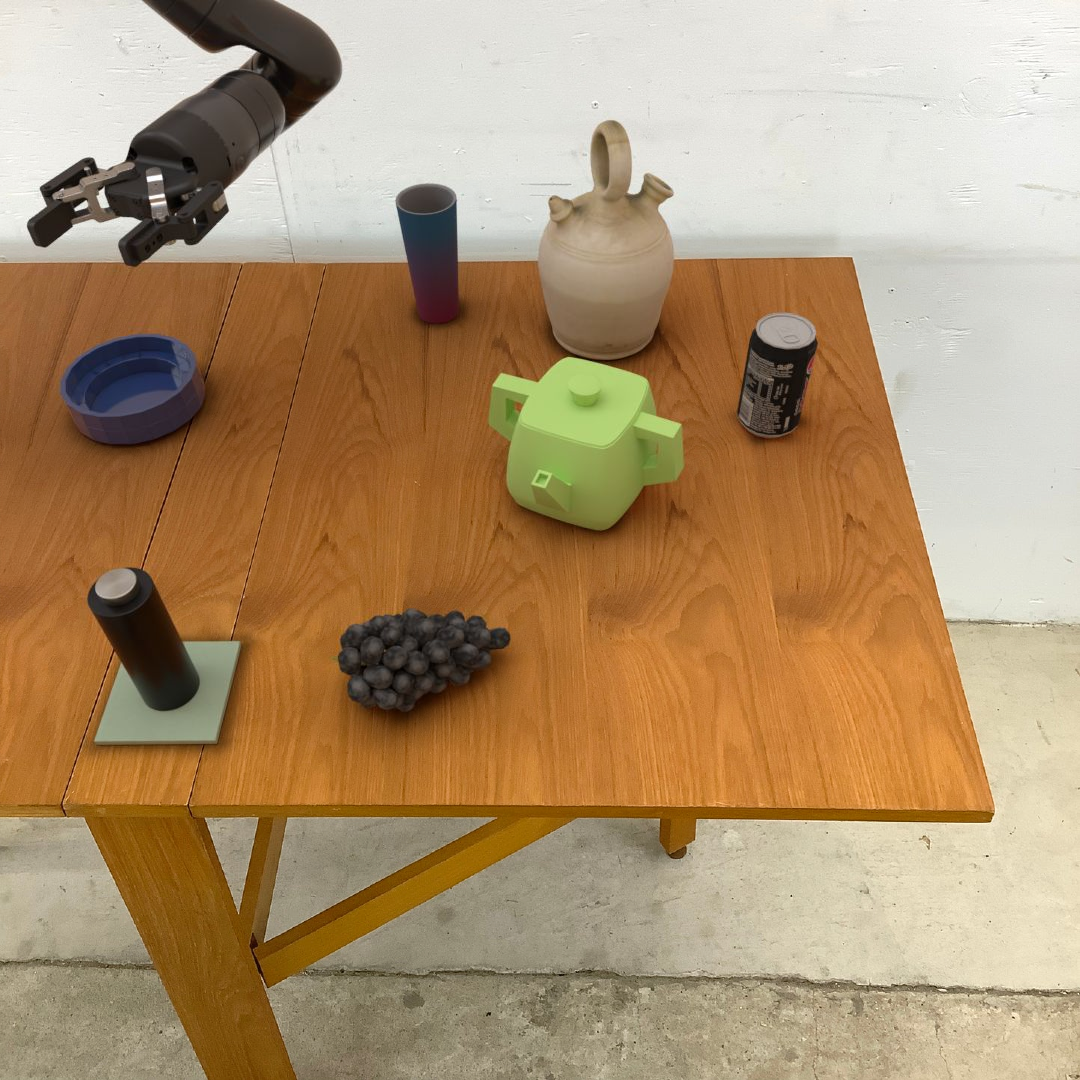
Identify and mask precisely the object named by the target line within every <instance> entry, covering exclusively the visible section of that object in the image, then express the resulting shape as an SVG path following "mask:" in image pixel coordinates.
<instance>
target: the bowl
mask: <svg viewBox="0 0 1080 1080" xmlns="http://www.w3.org/2000/svg"><path fill="white" fill-rule="evenodd" d="M206 394H207V393H206V385H205V381H204V377H203V374H202V372H201V369H200V365H199V363H198V360H197V357H196V354H195V353H194V352H193V350H192V349H191V348H190V346H189V345H188V344H187V343H185V342H183V341H181V340H180V339H177V338H176V337H173V336H169V335H164V334H159V333H134V334H129V335H124V336H119V337H115V338H112V339H110V340H107V341H104V342H101V343H99V344H96V345H94V346H93V347H90V348H89V349H87V350H86V351H84V352H83V353H81V354H79V355H78V356H77V357H76V358H74V360H73V361H72V362H71V363H69V365H68V366H67V367H66V369H65V371H64V372H63V374H62V376H61V378H60V380H59V395H60V397H61V400H62V401H63V403H64V405H65V407H66V409H67V411H68V413H69V414H70V417H71V419H72V421H73V423H74V424H75V426H76V428H77V429H78V431H79V432H80V433H81V434H82V435H84V436H86V437H87V438H89V439H91V440H92V441H96V442H98V443H99V442H100V443H104V444H109V445H135V444H139V443H143V442H148V441H154V440H156V439H158V438H160V437H163V436H166V435H168V434H170V433H173V432H175V431H176V430H178V429H179V428H180V427H182V426H184V425H185V424H186V423H188V422H189V421H190V420H191V419H192V418H193V417H194V416H195V414H196V413H198V411H199V410H200V409H201V408H202V406H203V402H204V400H205V397H206Z"/></svg>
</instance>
